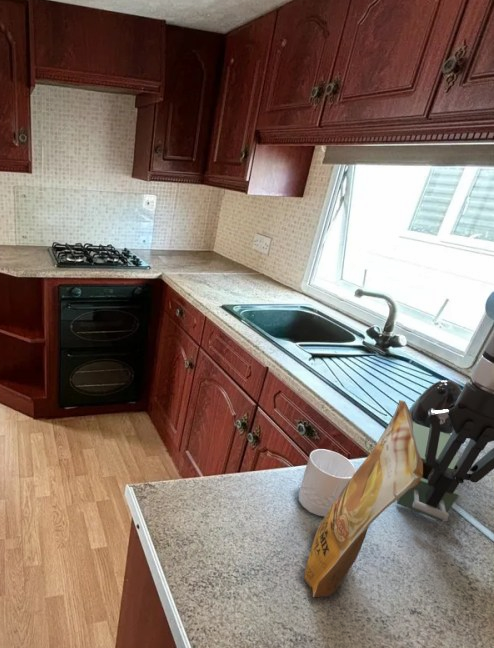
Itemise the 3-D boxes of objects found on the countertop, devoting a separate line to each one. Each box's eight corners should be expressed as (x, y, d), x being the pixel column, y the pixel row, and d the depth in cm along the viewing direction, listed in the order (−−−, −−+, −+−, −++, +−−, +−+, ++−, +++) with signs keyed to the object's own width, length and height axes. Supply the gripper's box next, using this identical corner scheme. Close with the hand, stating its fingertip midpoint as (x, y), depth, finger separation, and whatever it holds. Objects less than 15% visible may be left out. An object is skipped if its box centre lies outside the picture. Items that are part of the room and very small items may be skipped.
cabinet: (440, 505, 81) (460, 472, 77) (391, 485, 85) (408, 453, 81) (434, 465, 92) (452, 435, 88) (391, 450, 96) (406, 420, 92)
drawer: (444, 540, 72) (462, 512, 69) (396, 519, 75) (411, 492, 72) (436, 480, 86) (450, 455, 83) (396, 466, 89) (409, 441, 86)
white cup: (339, 499, 79) (357, 460, 75) (336, 526, 73) (355, 485, 69) (298, 482, 83) (312, 443, 78) (291, 506, 77) (307, 466, 72)
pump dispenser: (393, 425, 106) (417, 375, 99) (415, 417, 110) (440, 369, 104) (434, 449, 98) (464, 396, 91) (456, 439, 102) (486, 388, 96)
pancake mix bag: (359, 536, 72) (427, 404, 59) (343, 624, 57) (428, 473, 45) (320, 517, 75) (376, 387, 63) (294, 595, 60) (361, 447, 48)
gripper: (450, 382, 62) (389, 496, 73) (562, 414, 57) (478, 533, 67) (445, 366, 68) (389, 473, 79) (546, 394, 63) (471, 506, 73)
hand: (430, 501), depth 73 cm, fingers closed
